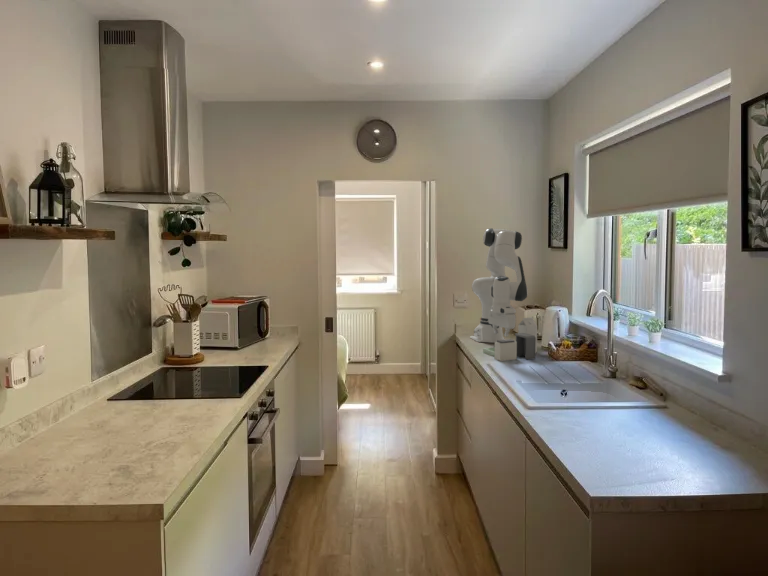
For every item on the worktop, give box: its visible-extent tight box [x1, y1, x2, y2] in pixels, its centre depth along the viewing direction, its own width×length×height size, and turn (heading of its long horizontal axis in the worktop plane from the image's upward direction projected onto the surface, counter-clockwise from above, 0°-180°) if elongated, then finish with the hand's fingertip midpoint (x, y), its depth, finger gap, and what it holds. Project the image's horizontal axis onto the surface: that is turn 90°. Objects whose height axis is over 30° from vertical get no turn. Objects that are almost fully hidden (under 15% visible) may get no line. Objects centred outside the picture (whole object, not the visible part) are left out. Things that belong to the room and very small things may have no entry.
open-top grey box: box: [514, 333, 536, 360], centre depth 288 cm, size 10×6×12 cm, turn 21°
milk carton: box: [517, 316, 538, 353], centre depth 301 cm, size 7×7×19 cm
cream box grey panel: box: [494, 338, 518, 362], centre depth 284 cm, size 5×10×10 cm, turn 111°
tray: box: [482, 346, 495, 358], centre depth 299 cm, size 11×16×2 cm
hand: (501, 334), depth 283 cm, fingers open, 8 cm apart
